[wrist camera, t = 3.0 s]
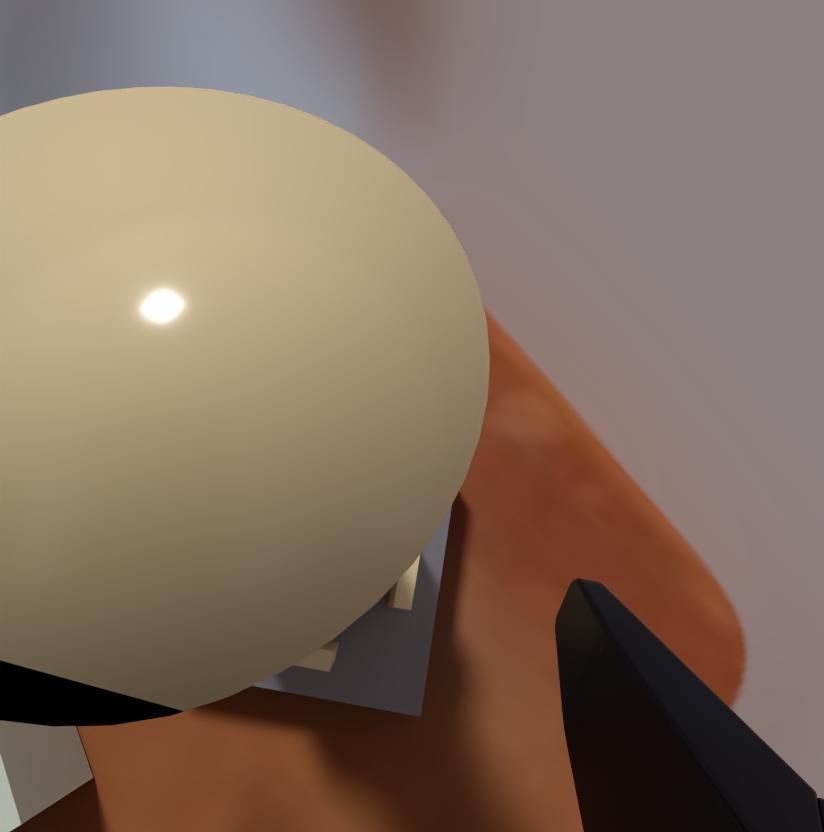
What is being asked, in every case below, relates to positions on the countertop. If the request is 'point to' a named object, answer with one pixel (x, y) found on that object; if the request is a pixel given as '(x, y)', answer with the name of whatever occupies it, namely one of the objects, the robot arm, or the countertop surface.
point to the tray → (37, 769)
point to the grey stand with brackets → (379, 645)
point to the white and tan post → (213, 395)
